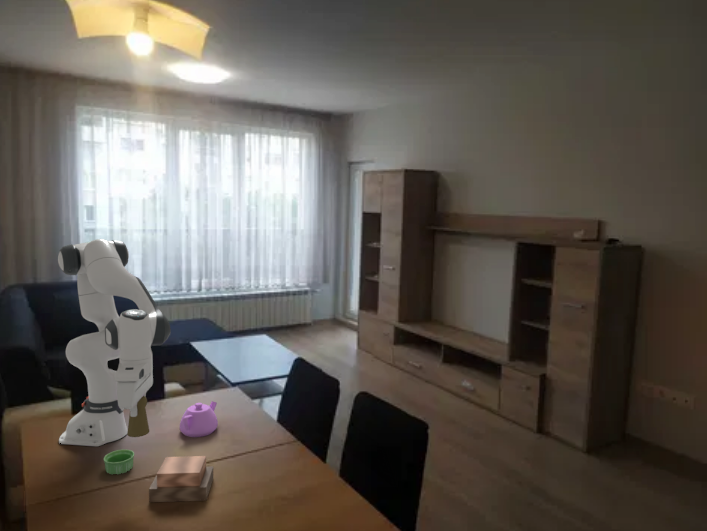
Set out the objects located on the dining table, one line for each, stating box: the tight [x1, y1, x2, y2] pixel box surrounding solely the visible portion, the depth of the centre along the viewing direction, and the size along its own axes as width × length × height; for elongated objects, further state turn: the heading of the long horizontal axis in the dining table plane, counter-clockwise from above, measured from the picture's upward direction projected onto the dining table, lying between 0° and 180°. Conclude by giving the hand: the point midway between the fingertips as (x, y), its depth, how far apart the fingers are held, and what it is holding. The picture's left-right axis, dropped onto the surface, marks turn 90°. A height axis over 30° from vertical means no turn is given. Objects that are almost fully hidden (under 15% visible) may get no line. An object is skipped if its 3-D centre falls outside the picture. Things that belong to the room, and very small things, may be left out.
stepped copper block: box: [148, 455, 214, 503], centre depth 152 cm, size 16×12×8 cm
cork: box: [126, 396, 150, 438], centre depth 150 cm, size 6×6×11 cm
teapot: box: [179, 400, 219, 438], centre depth 194 cm, size 14×20×11 cm
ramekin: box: [103, 449, 135, 475], centre depth 164 cm, size 9×9×4 cm
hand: (137, 411), depth 150 cm, fingers closed on cork, 4 cm apart
